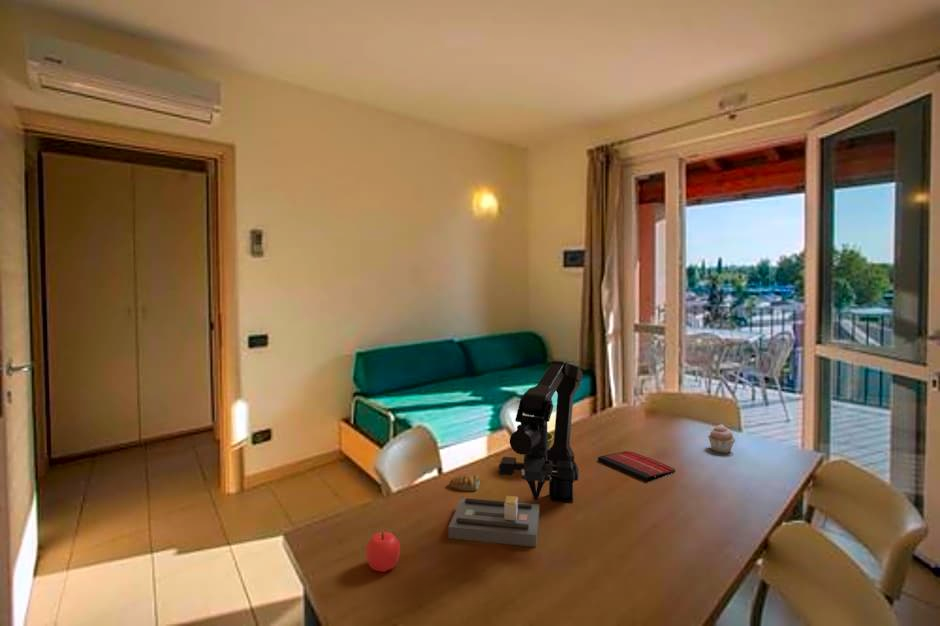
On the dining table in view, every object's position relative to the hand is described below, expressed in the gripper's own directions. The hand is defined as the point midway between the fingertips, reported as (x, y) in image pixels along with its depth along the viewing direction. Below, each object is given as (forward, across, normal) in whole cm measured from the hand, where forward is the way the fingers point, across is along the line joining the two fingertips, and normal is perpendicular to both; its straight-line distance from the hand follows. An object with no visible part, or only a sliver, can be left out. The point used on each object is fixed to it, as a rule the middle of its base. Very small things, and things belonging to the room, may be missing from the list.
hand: (536, 499), depth 126 cm
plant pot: (+8, -2, +41) cm, 42 cm away
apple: (+8, -34, -22) cm, 41 cm away
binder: (+9, +32, +48) cm, 58 cm away
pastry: (+9, -23, +22) cm, 33 cm away
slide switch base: (+8, -10, 0) cm, 13 cm away
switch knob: (+5, -6, 0) cm, 8 cm away
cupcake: (+9, +64, +69) cm, 95 cm away
